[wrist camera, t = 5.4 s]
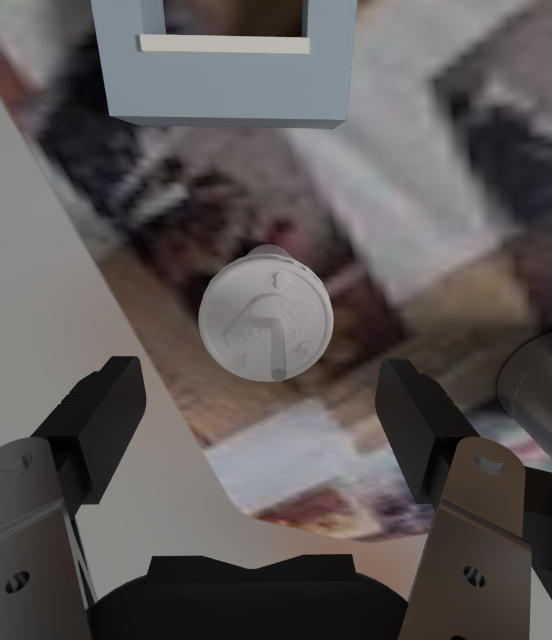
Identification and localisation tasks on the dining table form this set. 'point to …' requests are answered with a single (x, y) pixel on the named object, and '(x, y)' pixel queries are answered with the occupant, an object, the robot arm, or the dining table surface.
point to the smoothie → (266, 316)
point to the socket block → (225, 69)
